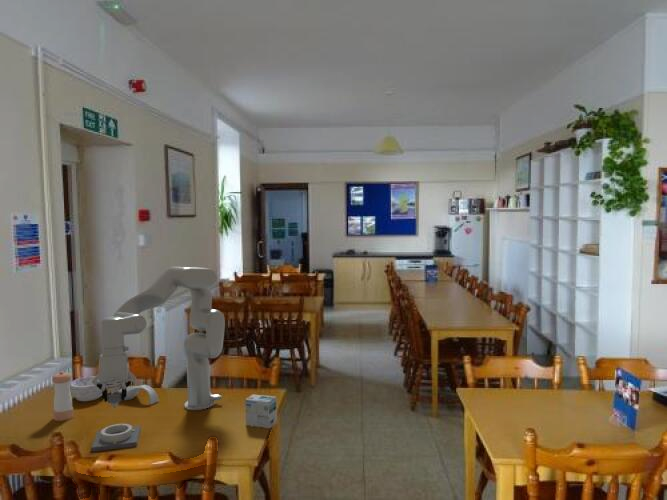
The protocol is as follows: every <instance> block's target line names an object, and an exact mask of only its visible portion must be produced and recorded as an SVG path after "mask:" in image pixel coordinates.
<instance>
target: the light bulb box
mask: <svg viewBox="0 0 667 500" xmlns="http://www.w3.org/2000/svg"><path fill="white" fill-rule="evenodd" d="M244 405H245V406H244V407H245V426H246V425H253V426H260V427H265V428H264V429H268V428H269V430H270V429H271V428H272V427H274V426H275V425H276V424H277V423H278V416H277V415H278V411H277V409H278V407H277V396H276V395H275V396H272V395H264V394H263V395H262V394H260V395H259V394H254V393H253V394H251V395H250V396H249V397H248V396H247V398H245V403H244ZM253 426H252V427H253ZM260 427H259V428H260Z"/></svg>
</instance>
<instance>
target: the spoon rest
mask: <svg viewBox="0 0 667 500" xmlns="http://www.w3.org/2000/svg"><path fill="white" fill-rule="evenodd" d="M126 389H127V397H125V399H124V400H123V401H128V400H132V399H134V398H135V397H136V396H137V395H138V393H140V391H141V390H143V391H144V392H147V394H148V397H149V398H148V399H149V405H154V404H156V403H158V402H159V401H160V399H159V396H158V394H157V392H156V391H155V389H154V388H153V387H151V386H149V385H148V384H142V385H129V386H128V387H127V388H126ZM119 391H121V392H122V389H121V390H119Z"/></svg>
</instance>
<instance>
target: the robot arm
mask: <svg viewBox="0 0 667 500" xmlns="http://www.w3.org/2000/svg"><path fill="white" fill-rule="evenodd" d="M217 282H218V274H217V272H216V271H215V270H214V269H212V268H210V267H209V268H208V267H207V268H206V267H195V266H191V267H189V266H188V267H187V266H171V267H168V268H167V269H165V270H164V271H163V272H162V273H161V274H160V275H159V277H158V278H156V279H155V280H154V282H152V284H151V285H150V286H149V287H148V288H147V289H146V290H143V291H141V292H140V293H138V294H136V295H135V296H133V297H131V298H130V299H128V300H127V301H125V302H124V303H123V304H122V305H121V306H120V307H119V308H118V309H117V310H116V311H115V312H114V314H113V315H112V316H107V317H104V318H102V320H101V321H100V332H101V354H100V355H99V360H98V361H99V362H98V373H97V374H96V377H95V378H94V379H93V381H92V383H93V384H94V385H96V386H97V387H98V388H99V389H101V391H102V396H101V398H102V400H103V402H104V403H108V402H107V393H108V390H107V389H106V385H107V384H106V383H108V382H112V381H116V380H119V382H121V384H122V401H125V400H124V399H125V397H127V389H126V388H127V387H128V386H131V384H132V383H133V382H134V381H135V380H136V379H137V377H136V376H135V374H133V372H131V371H130V364H129V357H128V353H127V352H128V351H129V346H125V336H128V335H131V336H132V335H133V336H134V335H138V334H141V333H142V332H144V331H145V329H146V328H147V323H148V322H147V320H146V318H145V317H144V316H143V315H141V313H143V312H145V311H147V310H150V309H155V308H158V307H160V306H162V305H164V304H165V303H166V302H167V301H168V300H169V299H170V298H171V297H172V295H173V294H174V293H175V292H176V291H177V290H178V289H188V290H189V292H190V294H191V305H190V312H189V313H190V315H189V325H190V327H191V328H192V329H194V330H197V331H205V333H201V332H192V333H190V334H188V335H187V336H186V337H184V341H183V350H184V354H185V360H186V374H187V375H186V379H187V380H186V381H187V401H186V402H185V403H183V404H184V406H183V407H184V408H185V409H186V410H189V411H203V409H204V410H207V409H206V408H208V409H210V408H212V407H213V406H214V405H215V401H222V395H219V394H212V391H211V371H210V369H211V366H210V360H209V359H216V358H218V357H219V356H220V355H221V353H222V352H223V351H222V350H223V347H224V339H225V338H224V337H225V328H226V320H225V319H226V318H225V316H224V313H223V312H222V311H220V310H219V309H214V308H213V307H212V304H213V303H212V302H213V295H212V294H213V293H212V291H211V288H213V287H215V285H216V284H217ZM98 379H99V382H100V383H99V382H98V381H97V380H98ZM109 379H113V380H112V381H108V380H109ZM101 383H103V385H102V384H101ZM211 406H212V407H211ZM209 407H210V408H209Z"/></svg>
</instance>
